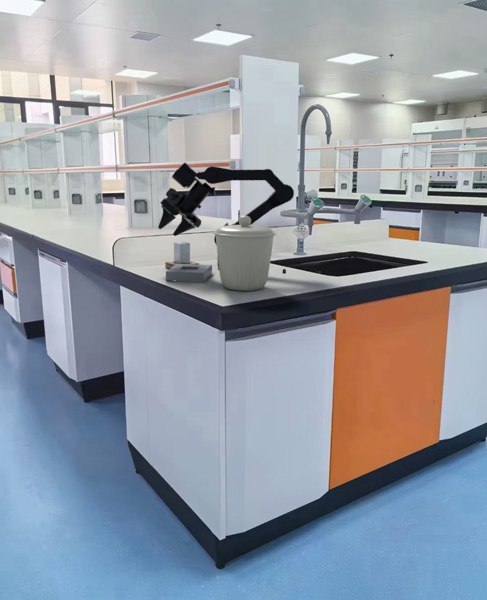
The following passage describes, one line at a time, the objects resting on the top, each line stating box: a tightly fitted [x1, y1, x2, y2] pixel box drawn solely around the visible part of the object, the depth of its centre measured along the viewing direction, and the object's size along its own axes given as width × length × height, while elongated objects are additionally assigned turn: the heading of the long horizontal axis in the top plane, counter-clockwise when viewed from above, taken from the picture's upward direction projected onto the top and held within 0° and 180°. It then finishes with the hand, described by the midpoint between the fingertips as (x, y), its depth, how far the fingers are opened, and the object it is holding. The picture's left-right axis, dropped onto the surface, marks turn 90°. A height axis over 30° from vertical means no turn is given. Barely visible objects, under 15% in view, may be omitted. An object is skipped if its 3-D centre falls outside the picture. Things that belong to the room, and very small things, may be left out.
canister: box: [213, 215, 277, 292], centre depth 153 cm, size 18×18×21 cm
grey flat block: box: [165, 264, 213, 283], centre depth 169 cm, size 12×14×3 cm
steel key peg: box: [173, 241, 191, 264], centre depth 183 cm, size 4×4×9 cm
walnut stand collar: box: [164, 260, 200, 269], centre depth 184 cm, size 8×8×2 cm
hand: (166, 231), depth 183 cm, fingers open, 9 cm apart
